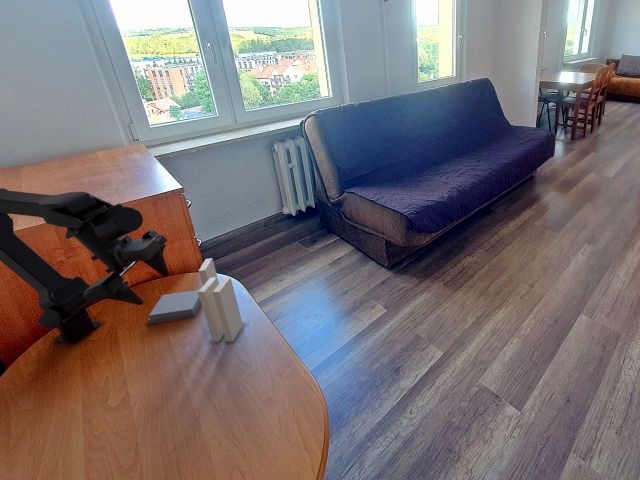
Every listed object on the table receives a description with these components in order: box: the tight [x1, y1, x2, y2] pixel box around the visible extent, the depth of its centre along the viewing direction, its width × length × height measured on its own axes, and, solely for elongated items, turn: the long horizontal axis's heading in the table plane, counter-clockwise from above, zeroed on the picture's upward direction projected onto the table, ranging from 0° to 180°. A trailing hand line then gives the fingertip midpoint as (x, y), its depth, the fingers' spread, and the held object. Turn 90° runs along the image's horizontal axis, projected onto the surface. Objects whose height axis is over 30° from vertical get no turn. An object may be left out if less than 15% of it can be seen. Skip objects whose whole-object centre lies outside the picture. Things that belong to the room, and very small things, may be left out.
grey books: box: [147, 289, 202, 325], centre depth 93 cm, size 11×8×3 cm
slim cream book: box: [198, 257, 220, 286], centre depth 91 cm, size 2×5×16 cm, turn 13°
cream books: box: [198, 277, 244, 342], centre depth 84 cm, size 5×5×16 cm
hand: (155, 289), depth 82 cm, fingers open, 9 cm apart
